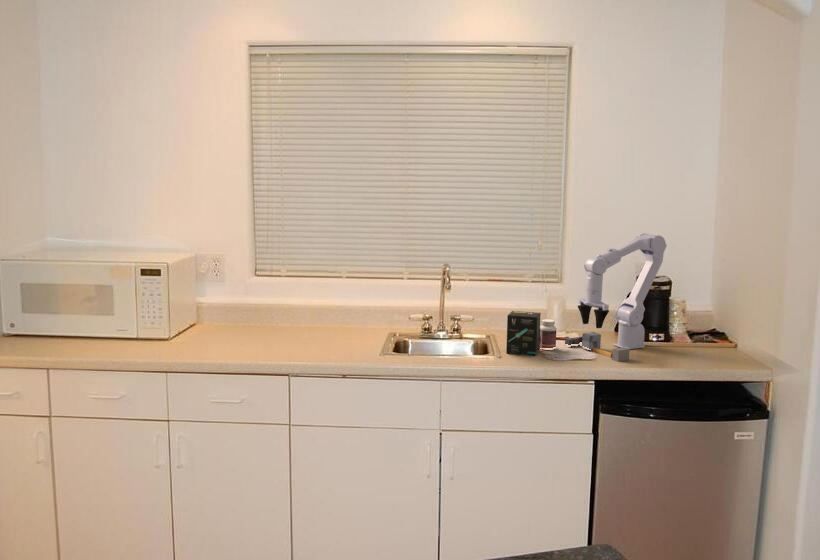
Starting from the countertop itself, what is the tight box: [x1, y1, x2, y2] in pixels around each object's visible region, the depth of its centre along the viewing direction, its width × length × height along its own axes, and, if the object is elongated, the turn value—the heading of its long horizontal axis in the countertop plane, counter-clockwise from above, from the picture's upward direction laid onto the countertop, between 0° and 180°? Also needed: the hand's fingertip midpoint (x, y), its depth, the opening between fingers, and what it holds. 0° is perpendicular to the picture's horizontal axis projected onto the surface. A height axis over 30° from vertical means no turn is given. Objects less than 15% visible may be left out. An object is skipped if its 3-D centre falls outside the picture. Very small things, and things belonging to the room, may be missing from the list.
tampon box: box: [505, 310, 541, 357], centre depth 264 cm, size 11×9×15 cm
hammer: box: [579, 342, 631, 362], centre depth 265 cm, size 5×26×4 cm, turn 26°
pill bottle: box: [540, 318, 557, 348], centre depth 269 cm, size 6×6×11 cm
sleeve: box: [581, 331, 602, 351], centre depth 269 cm, size 5×4×6 cm
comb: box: [564, 336, 582, 345], centre depth 276 cm, size 12×2×3 cm, turn 116°
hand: (592, 325), depth 268 cm, fingers open, 7 cm apart
